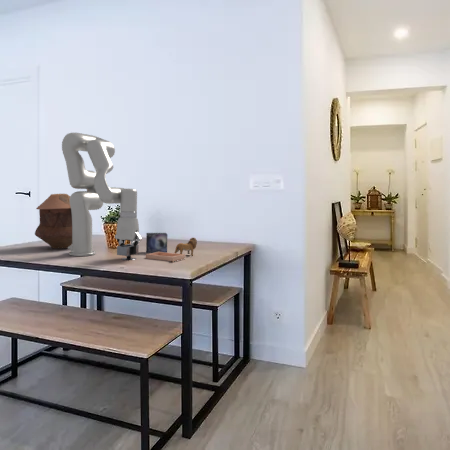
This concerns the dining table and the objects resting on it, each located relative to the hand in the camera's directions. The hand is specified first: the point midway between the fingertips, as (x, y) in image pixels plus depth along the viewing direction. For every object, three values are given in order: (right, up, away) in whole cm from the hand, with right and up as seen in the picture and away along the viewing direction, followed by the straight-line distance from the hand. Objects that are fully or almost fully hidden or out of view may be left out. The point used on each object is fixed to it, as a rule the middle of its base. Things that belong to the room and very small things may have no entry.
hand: (127, 253), depth 190 cm
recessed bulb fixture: (0, 0, 0) cm, 0 cm away
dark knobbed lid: (0, -3, 0) cm, 3 cm away
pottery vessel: (-46, 0, +35) cm, 58 cm away
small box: (+10, -2, +23) cm, 25 cm away
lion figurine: (+25, -3, +16) cm, 30 cm away
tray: (+17, -3, +4) cm, 18 cm away
